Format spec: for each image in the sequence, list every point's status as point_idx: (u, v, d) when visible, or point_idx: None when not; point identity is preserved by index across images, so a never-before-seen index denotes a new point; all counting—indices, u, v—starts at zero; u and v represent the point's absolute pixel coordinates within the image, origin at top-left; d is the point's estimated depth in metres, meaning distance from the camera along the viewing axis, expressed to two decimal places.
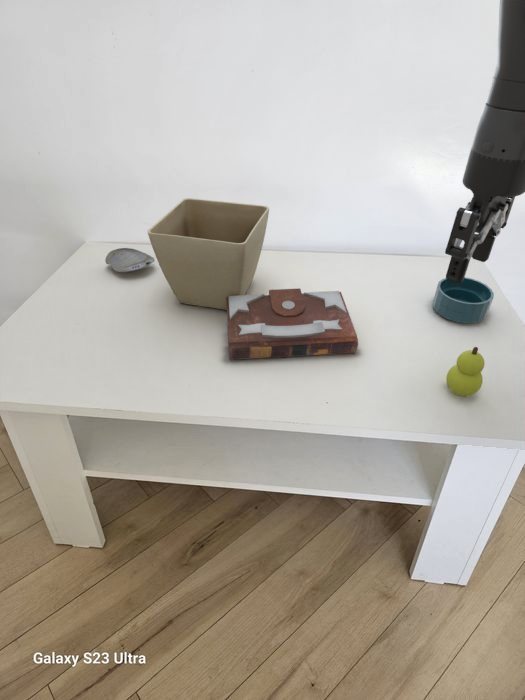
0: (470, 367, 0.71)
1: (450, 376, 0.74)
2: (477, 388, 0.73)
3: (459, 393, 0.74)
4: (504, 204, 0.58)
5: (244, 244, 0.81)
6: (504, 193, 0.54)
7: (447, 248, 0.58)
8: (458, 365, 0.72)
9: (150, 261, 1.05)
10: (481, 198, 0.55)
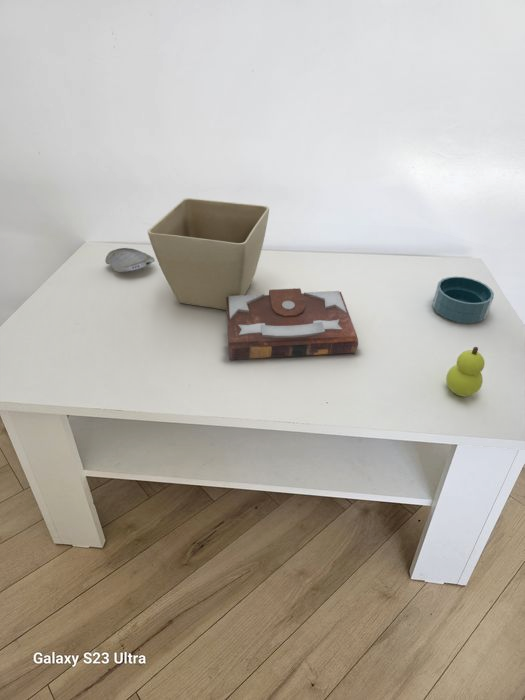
0: (470, 367, 0.71)
1: (450, 376, 0.74)
2: (477, 388, 0.73)
3: (459, 393, 0.74)
4: None
5: (244, 244, 0.81)
6: None
7: None
8: (458, 365, 0.72)
9: (150, 261, 1.05)
10: None
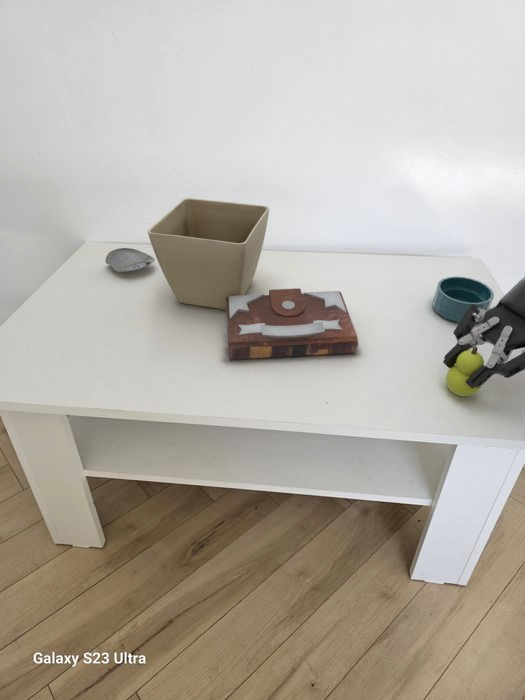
0: (470, 367, 0.71)
1: (450, 376, 0.74)
2: (477, 388, 0.73)
3: (459, 393, 0.74)
4: (511, 327, 0.69)
5: (244, 244, 0.81)
6: (502, 298, 0.71)
7: None
8: (458, 365, 0.72)
9: (150, 261, 1.05)
10: None
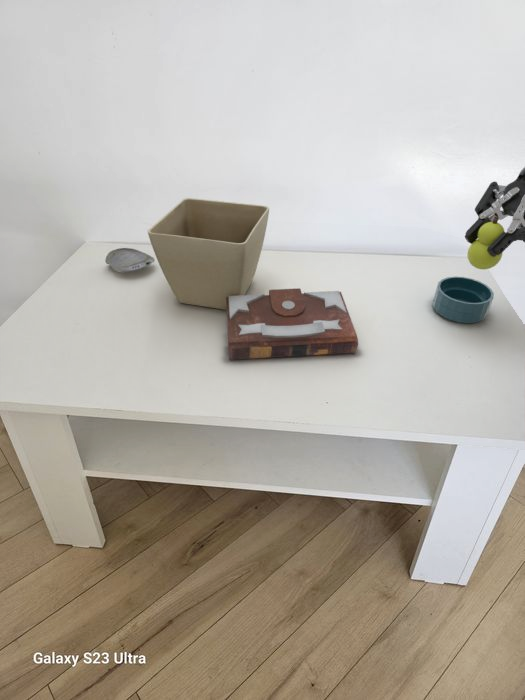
0: (491, 235, 0.75)
1: (471, 249, 0.78)
2: (497, 258, 0.77)
3: (480, 265, 0.78)
4: None
5: (244, 244, 0.81)
6: (521, 170, 0.75)
7: None
8: (479, 236, 0.76)
9: (150, 261, 1.05)
10: None
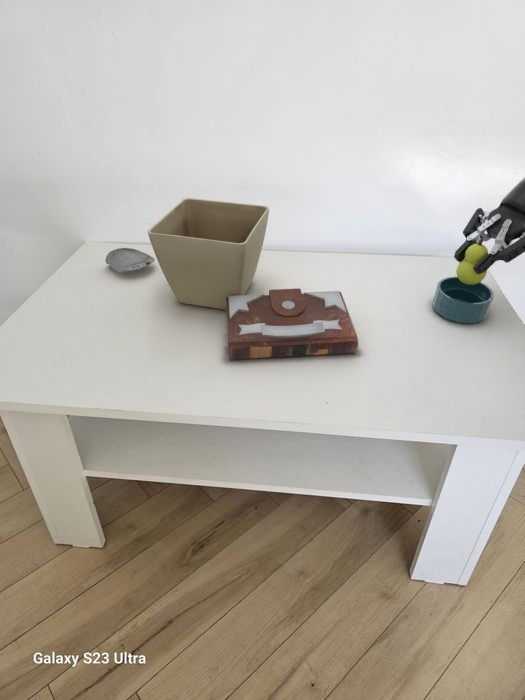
0: (476, 255, 0.86)
1: (459, 267, 0.89)
2: (482, 275, 0.87)
3: (467, 281, 0.88)
4: (510, 220, 0.84)
5: (244, 244, 0.81)
6: (503, 199, 0.86)
7: None
8: (466, 256, 0.87)
9: (150, 261, 1.05)
10: None
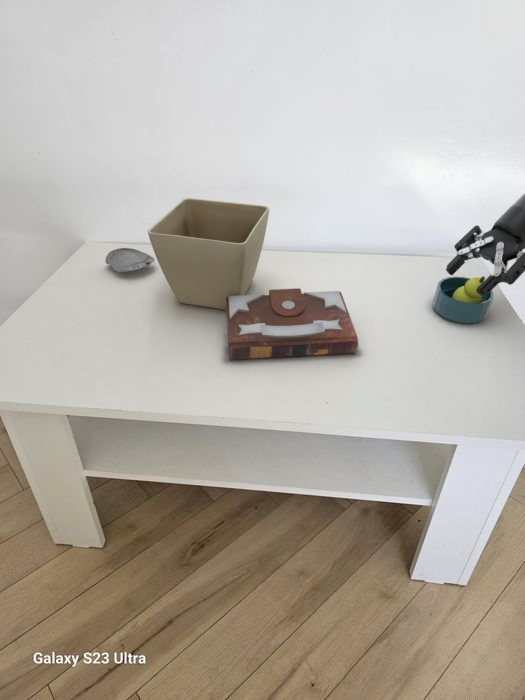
0: (475, 292, 0.88)
1: (456, 295, 0.91)
2: None
3: None
4: None
5: (244, 244, 0.81)
6: (495, 222, 0.88)
7: None
8: (465, 288, 0.89)
9: (150, 261, 1.05)
10: None
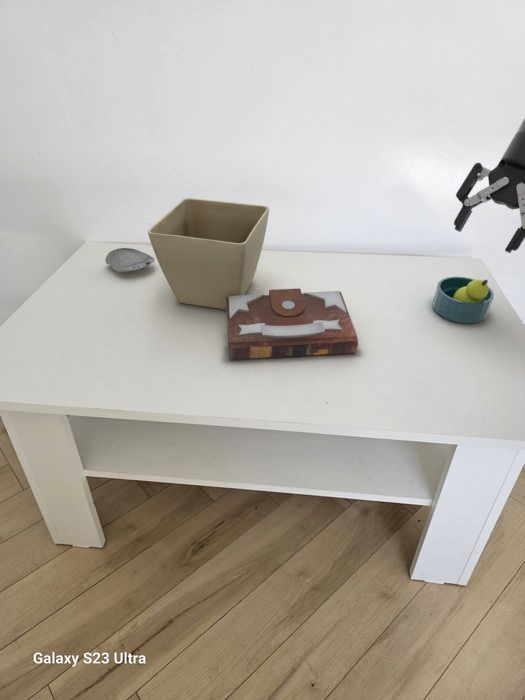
0: (476, 295, 0.88)
1: (457, 296, 0.91)
2: None
3: None
4: None
5: (244, 244, 0.81)
6: (505, 156, 0.70)
7: None
8: (467, 290, 0.89)
9: (150, 261, 1.05)
10: None
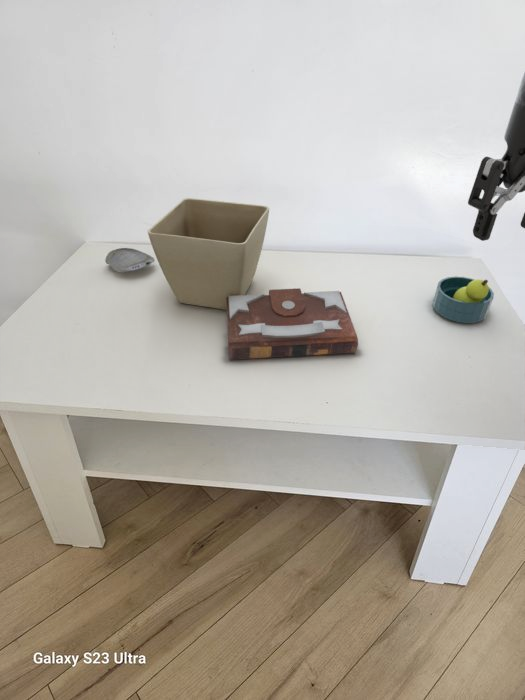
0: (476, 295, 0.88)
1: (457, 296, 0.91)
2: None
3: None
4: None
5: (244, 244, 0.81)
6: None
7: (469, 198, 0.58)
8: (467, 290, 0.89)
9: (150, 261, 1.05)
10: (513, 150, 0.55)
